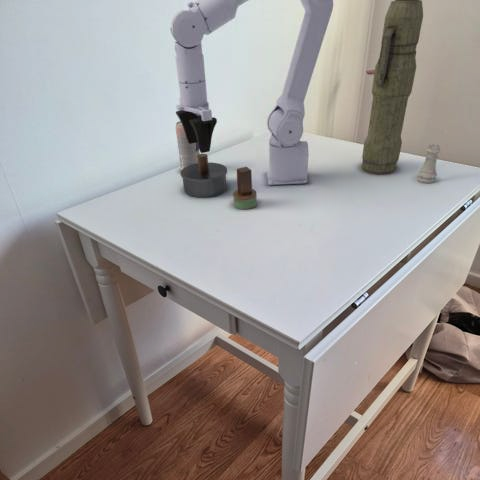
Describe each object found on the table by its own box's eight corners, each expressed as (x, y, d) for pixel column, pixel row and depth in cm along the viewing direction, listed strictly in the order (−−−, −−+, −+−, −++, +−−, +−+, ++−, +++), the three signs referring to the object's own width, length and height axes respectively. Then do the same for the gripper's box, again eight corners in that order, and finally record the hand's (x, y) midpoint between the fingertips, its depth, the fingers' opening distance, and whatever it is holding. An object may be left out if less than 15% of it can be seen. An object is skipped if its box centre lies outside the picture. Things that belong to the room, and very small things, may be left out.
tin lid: (227, 165, 106) (226, 146, 103) (227, 183, 97) (226, 162, 94) (183, 167, 106) (180, 148, 103) (178, 185, 97) (176, 165, 94)
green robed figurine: (405, 164, 110) (439, -4, 88) (384, 179, 103) (416, 0, 81) (373, 158, 115) (399, -4, 92) (351, 171, 108) (373, 0, 86)
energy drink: (202, 166, 115) (198, 119, 108) (199, 174, 111) (194, 125, 104) (183, 166, 116) (177, 120, 108) (179, 174, 112) (173, 126, 104)
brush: (230, 202, 97) (228, 168, 92) (250, 197, 98) (249, 163, 93) (240, 211, 93) (238, 175, 88) (260, 206, 95) (260, 170, 90)
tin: (226, 179, 108) (225, 164, 105) (226, 196, 100) (225, 180, 97) (186, 181, 108) (184, 166, 105) (182, 198, 100) (180, 182, 97)
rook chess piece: (415, 182, 101) (423, 148, 96) (416, 175, 104) (424, 142, 99) (435, 184, 100) (444, 149, 95) (436, 177, 103) (445, 143, 98)
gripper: (163, 77, 93) (172, 142, 101) (186, 89, 83) (193, 159, 91) (193, 73, 95) (199, 136, 104) (218, 84, 85) (223, 153, 93)
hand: (198, 147), depth 98 cm, fingers open, 7 cm apart
